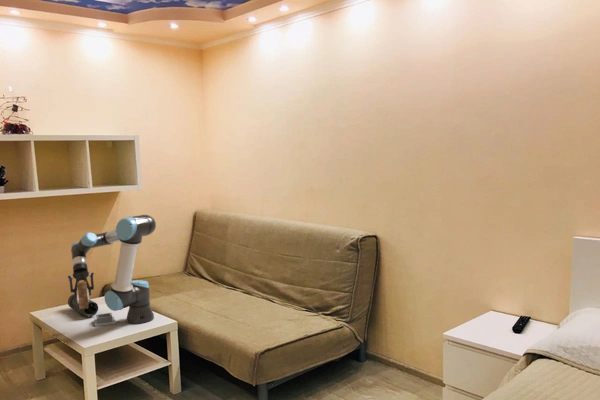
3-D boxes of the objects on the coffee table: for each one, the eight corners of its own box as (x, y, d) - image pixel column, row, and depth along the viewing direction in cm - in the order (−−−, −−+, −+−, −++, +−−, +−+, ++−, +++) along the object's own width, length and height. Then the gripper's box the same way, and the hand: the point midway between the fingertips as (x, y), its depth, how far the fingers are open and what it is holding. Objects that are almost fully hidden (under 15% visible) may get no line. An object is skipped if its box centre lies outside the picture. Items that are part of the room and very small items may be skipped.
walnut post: (88, 306, 276) (86, 281, 275) (88, 308, 272) (86, 283, 271) (79, 307, 274) (77, 282, 273) (79, 309, 270) (77, 284, 269)
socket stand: (113, 318, 293) (113, 311, 293) (115, 323, 283) (115, 316, 283) (93, 321, 288) (93, 314, 288) (95, 326, 278) (94, 319, 278)
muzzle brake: (83, 320, 291) (82, 303, 290) (67, 310, 311) (66, 294, 311) (99, 316, 298) (98, 299, 297) (82, 307, 318) (81, 291, 317)
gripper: (96, 267, 289) (100, 302, 276) (63, 271, 282) (66, 307, 268) (96, 260, 284) (100, 294, 270) (62, 264, 276) (65, 300, 263)
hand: (83, 301), depth 269 cm, fingers closed on walnut post, 4 cm apart
